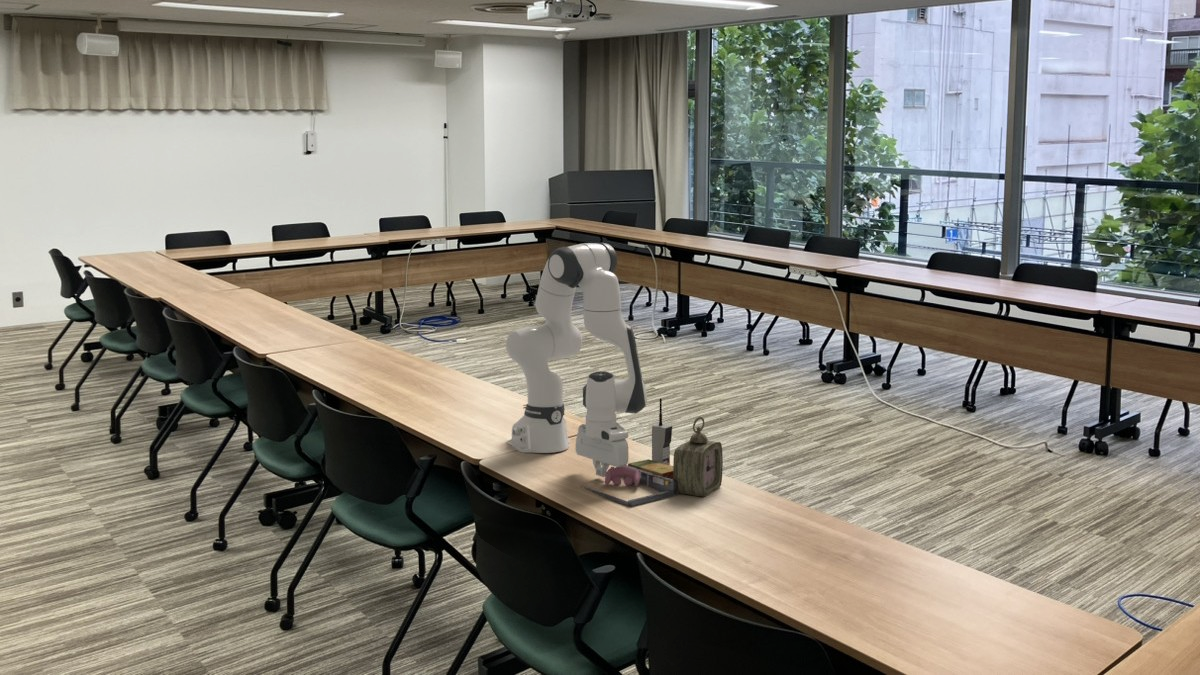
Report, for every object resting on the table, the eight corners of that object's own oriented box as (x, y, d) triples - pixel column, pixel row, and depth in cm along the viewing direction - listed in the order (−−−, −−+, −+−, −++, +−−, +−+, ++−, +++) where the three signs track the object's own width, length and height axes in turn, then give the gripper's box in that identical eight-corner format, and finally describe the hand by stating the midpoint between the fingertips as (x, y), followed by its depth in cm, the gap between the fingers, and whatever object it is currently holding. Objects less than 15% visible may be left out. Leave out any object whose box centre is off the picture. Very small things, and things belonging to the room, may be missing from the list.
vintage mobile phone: (665, 482, 307) (665, 400, 303) (651, 479, 310) (651, 398, 306) (672, 479, 310) (672, 398, 306) (658, 476, 313) (659, 396, 309)
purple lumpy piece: (639, 492, 290) (640, 470, 295) (638, 483, 287) (640, 462, 291) (604, 490, 291) (606, 469, 296) (603, 482, 288) (605, 461, 292)
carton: (661, 487, 289) (661, 472, 288) (626, 476, 302) (626, 462, 301) (684, 482, 294) (684, 468, 293) (648, 472, 307) (648, 458, 306)
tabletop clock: (701, 513, 281) (701, 424, 277) (671, 508, 285) (671, 420, 282) (722, 499, 293) (722, 413, 290) (693, 494, 298) (693, 410, 294)
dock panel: (574, 486, 292) (574, 473, 292) (620, 476, 303) (620, 463, 302) (630, 506, 273) (630, 492, 273) (677, 495, 284) (677, 481, 283)
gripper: (570, 424, 300) (570, 470, 302) (615, 436, 284) (615, 485, 286) (587, 421, 304) (587, 466, 306) (632, 433, 288) (632, 481, 290)
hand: (601, 475), depth 296 cm, fingers closed
